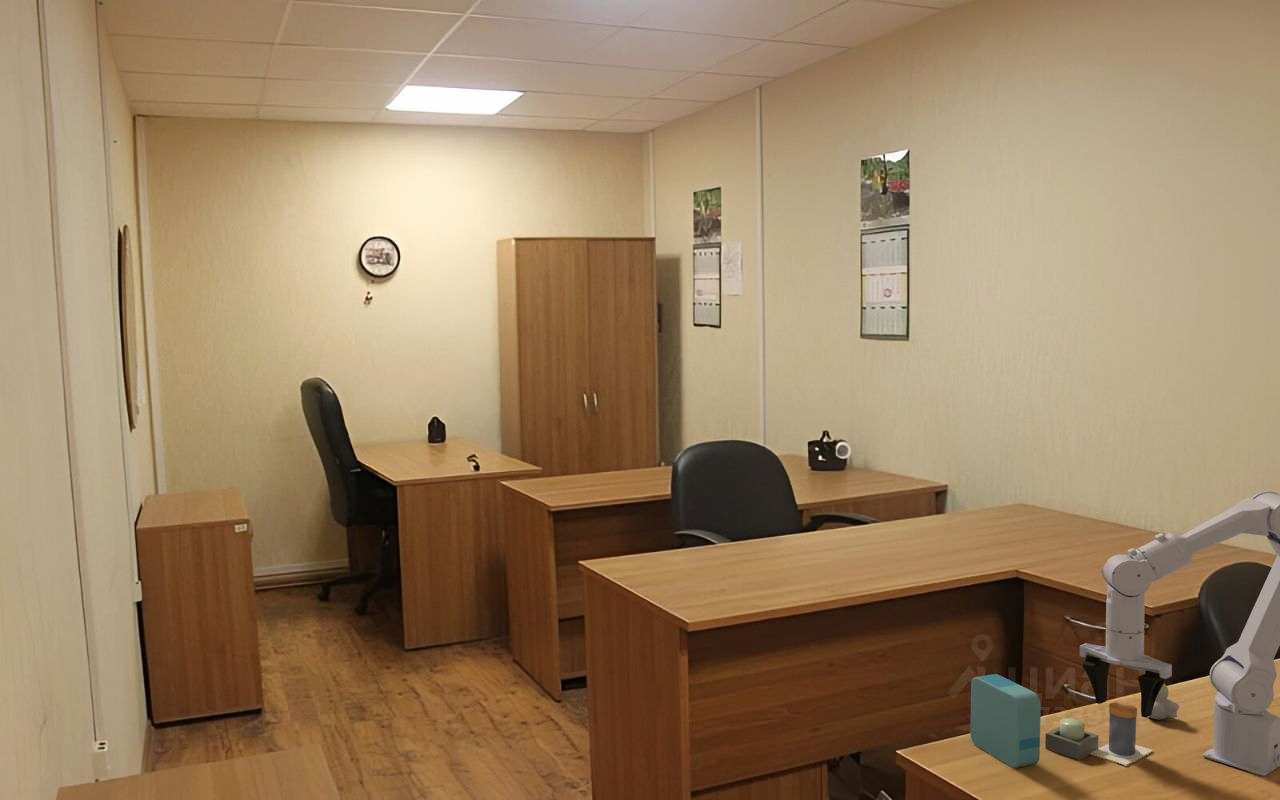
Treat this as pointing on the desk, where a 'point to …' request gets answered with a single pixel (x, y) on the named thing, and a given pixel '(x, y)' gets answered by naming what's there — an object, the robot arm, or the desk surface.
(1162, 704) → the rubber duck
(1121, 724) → the orange-capped grey cylinder
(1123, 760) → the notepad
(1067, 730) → the button
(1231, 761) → the robot arm
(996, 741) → the data package
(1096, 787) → the desk surface
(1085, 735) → the button housing
